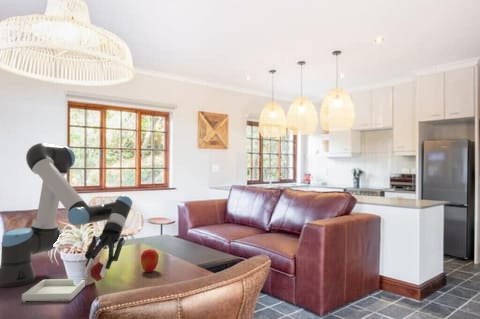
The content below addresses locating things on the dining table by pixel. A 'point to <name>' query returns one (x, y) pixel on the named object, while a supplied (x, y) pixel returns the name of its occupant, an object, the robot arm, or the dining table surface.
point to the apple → (149, 260)
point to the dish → (53, 290)
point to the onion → (97, 271)
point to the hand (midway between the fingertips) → (93, 275)
